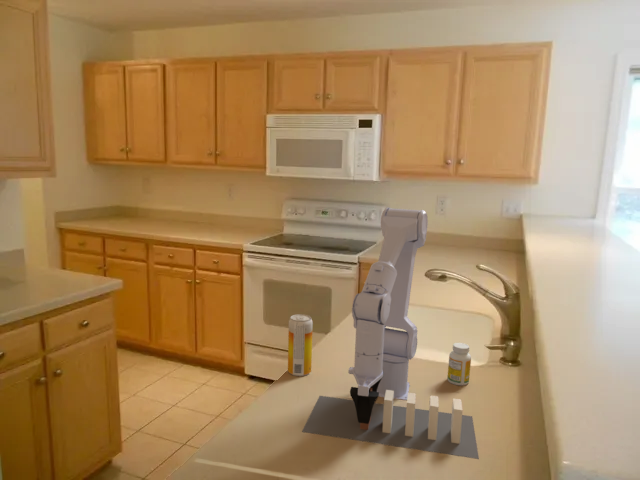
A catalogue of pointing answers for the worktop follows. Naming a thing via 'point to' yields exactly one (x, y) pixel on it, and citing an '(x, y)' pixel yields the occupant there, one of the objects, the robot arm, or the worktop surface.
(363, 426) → the terracotta domino
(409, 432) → the ivory domino
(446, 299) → the worktop surface
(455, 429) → the ivory domino
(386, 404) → the ivory domino
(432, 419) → the ivory domino
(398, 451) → the worktop surface
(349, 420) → the charcoal mat
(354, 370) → the robot arm
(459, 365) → the supplement bottle
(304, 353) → the beer can
